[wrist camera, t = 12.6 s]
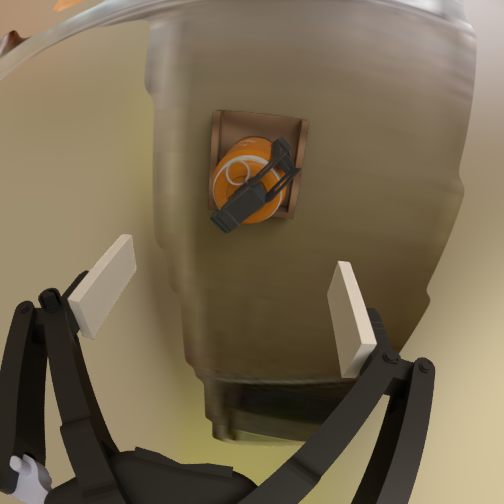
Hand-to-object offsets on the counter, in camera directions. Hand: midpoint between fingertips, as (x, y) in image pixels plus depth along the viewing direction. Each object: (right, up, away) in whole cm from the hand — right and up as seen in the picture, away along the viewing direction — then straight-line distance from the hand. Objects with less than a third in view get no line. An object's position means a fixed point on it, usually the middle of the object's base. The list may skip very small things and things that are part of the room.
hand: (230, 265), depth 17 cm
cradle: (+2, +16, +27) cm, 32 cm away
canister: (+3, +16, +26) cm, 31 cm away
